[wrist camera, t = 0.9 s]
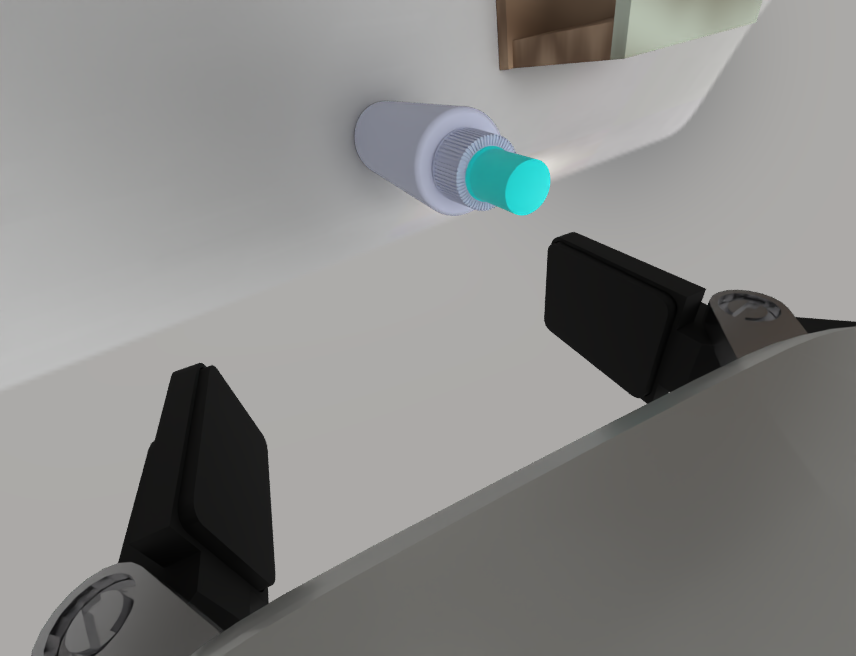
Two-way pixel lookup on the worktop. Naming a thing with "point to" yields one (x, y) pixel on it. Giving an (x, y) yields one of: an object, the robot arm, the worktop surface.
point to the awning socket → (608, 27)
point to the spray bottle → (449, 158)
